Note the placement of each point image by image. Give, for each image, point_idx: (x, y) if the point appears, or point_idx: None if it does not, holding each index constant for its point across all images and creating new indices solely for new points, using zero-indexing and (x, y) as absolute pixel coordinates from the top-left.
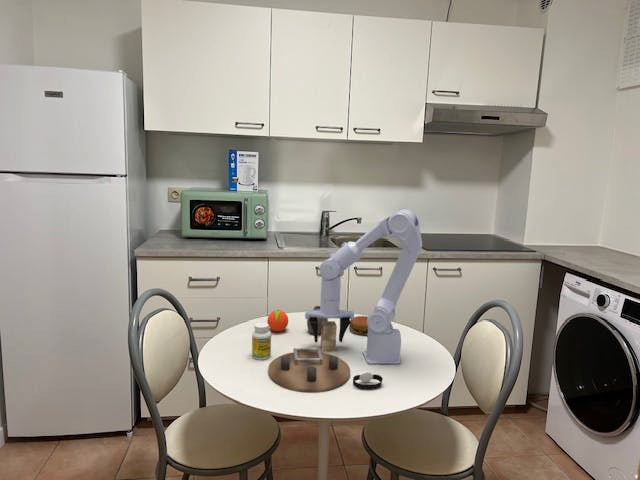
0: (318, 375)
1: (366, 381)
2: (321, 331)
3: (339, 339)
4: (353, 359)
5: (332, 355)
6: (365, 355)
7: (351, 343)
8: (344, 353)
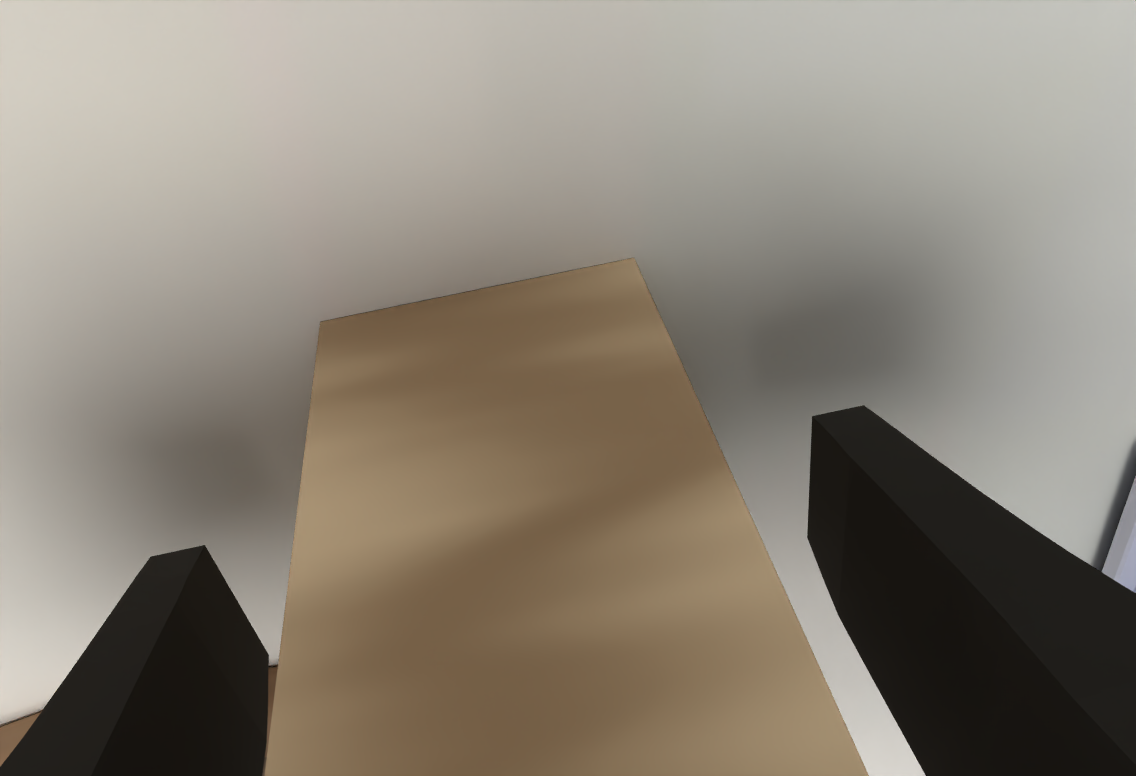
0: None
1: None
2: (293, 665)
3: (824, 502)
4: None
5: None
6: (1125, 585)
7: (1116, 17)
8: None
